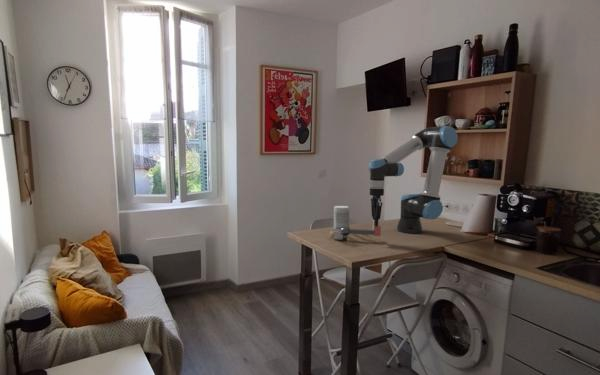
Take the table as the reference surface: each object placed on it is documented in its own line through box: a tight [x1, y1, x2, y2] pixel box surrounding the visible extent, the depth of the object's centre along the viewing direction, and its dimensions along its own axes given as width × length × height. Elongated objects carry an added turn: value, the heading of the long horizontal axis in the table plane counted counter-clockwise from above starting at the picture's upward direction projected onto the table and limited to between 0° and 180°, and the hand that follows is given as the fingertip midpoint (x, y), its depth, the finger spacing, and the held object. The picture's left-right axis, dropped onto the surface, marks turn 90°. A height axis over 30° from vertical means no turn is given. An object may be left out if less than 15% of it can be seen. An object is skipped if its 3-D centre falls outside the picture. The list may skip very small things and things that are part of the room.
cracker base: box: [326, 234, 383, 248], centre depth 189 cm, size 23×20×2 cm
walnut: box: [329, 230, 335, 239], centre depth 192 cm, size 5×5×4 cm
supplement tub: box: [333, 205, 350, 230], centre depth 216 cm, size 10×10×15 cm
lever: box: [333, 224, 382, 240], centre depth 186 cm, size 24×5×8 cm, turn 82°
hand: (375, 230), depth 190 cm, fingers closed
